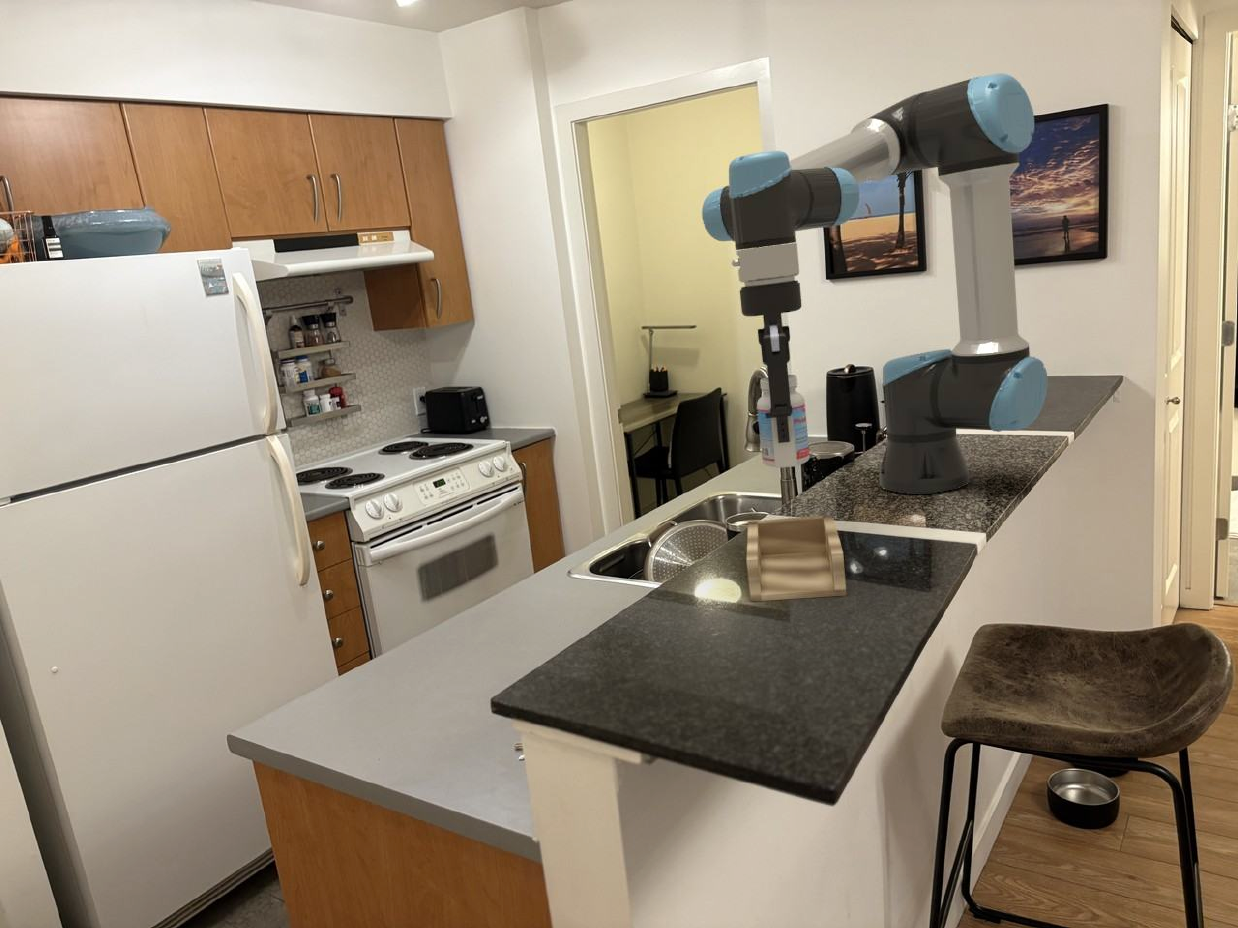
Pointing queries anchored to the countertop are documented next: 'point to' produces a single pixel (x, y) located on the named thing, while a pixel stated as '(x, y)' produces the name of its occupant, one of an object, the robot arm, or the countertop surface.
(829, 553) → the cradle
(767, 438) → the pill bottle
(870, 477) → the countertop surface
